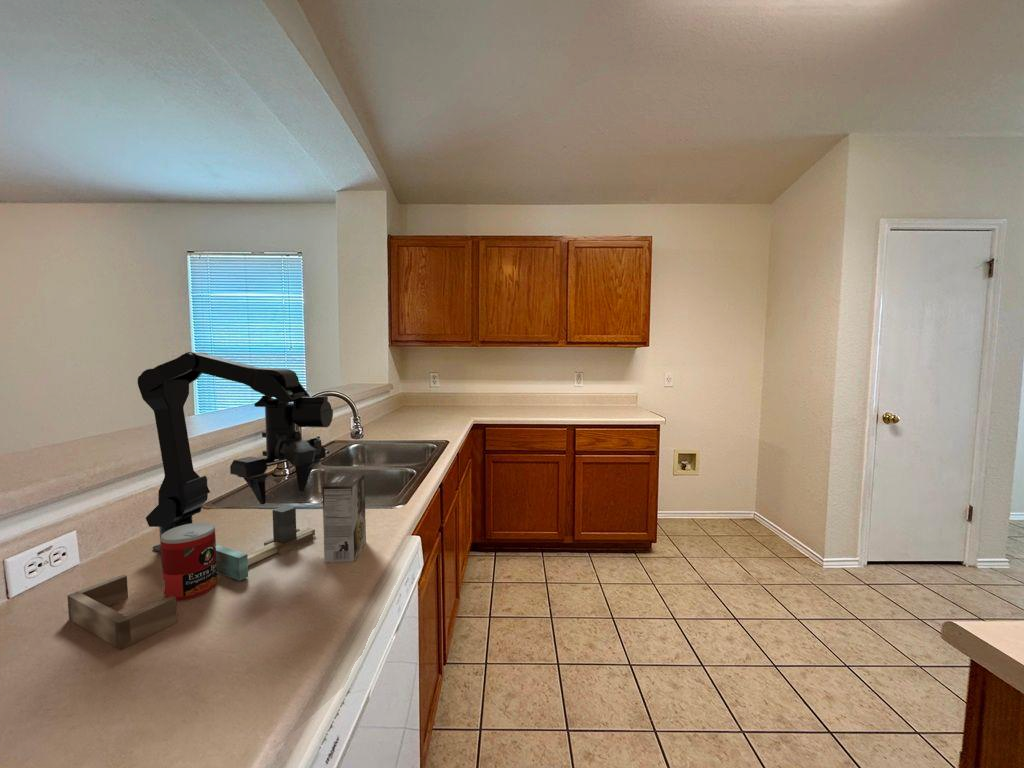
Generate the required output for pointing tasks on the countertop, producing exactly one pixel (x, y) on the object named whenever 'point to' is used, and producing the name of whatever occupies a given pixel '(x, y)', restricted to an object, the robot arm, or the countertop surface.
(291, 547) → the guide
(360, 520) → the coffee box
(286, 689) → the countertop surface
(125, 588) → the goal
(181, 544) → the canned food
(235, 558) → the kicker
